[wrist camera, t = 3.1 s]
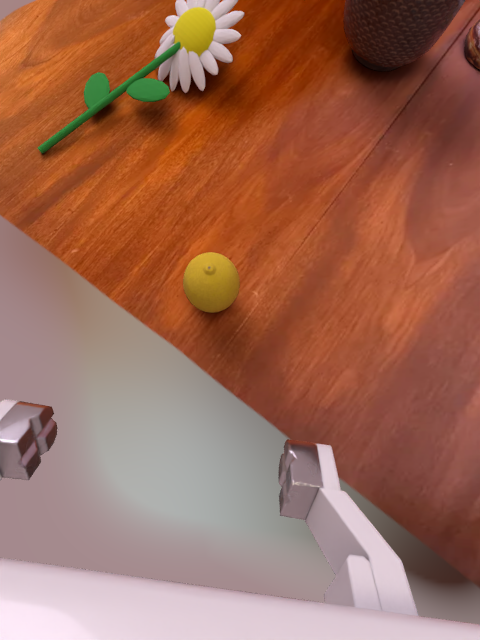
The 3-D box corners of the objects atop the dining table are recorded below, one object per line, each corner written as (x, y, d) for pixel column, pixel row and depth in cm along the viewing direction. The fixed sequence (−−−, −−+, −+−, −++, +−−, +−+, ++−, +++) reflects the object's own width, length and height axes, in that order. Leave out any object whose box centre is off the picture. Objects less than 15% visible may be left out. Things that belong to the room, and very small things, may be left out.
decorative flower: (81, 199, 41) (265, 57, 42) (55, 174, 36) (264, 15, 37) (32, 136, 43) (206, 5, 45) (2, 105, 39) (198, -40, 40)
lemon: (189, 272, 37) (179, 237, 29) (239, 274, 37) (242, 239, 29) (186, 319, 35) (175, 296, 27) (237, 321, 35) (240, 299, 28)
